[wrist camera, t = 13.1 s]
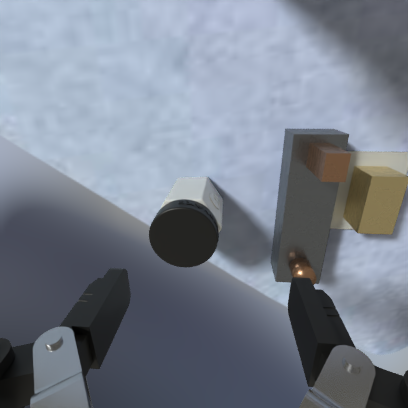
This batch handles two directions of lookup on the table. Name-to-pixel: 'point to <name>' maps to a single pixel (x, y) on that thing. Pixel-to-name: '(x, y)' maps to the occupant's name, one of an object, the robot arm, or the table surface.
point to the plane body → (307, 200)
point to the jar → (188, 223)
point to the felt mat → (364, 158)
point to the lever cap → (374, 199)
